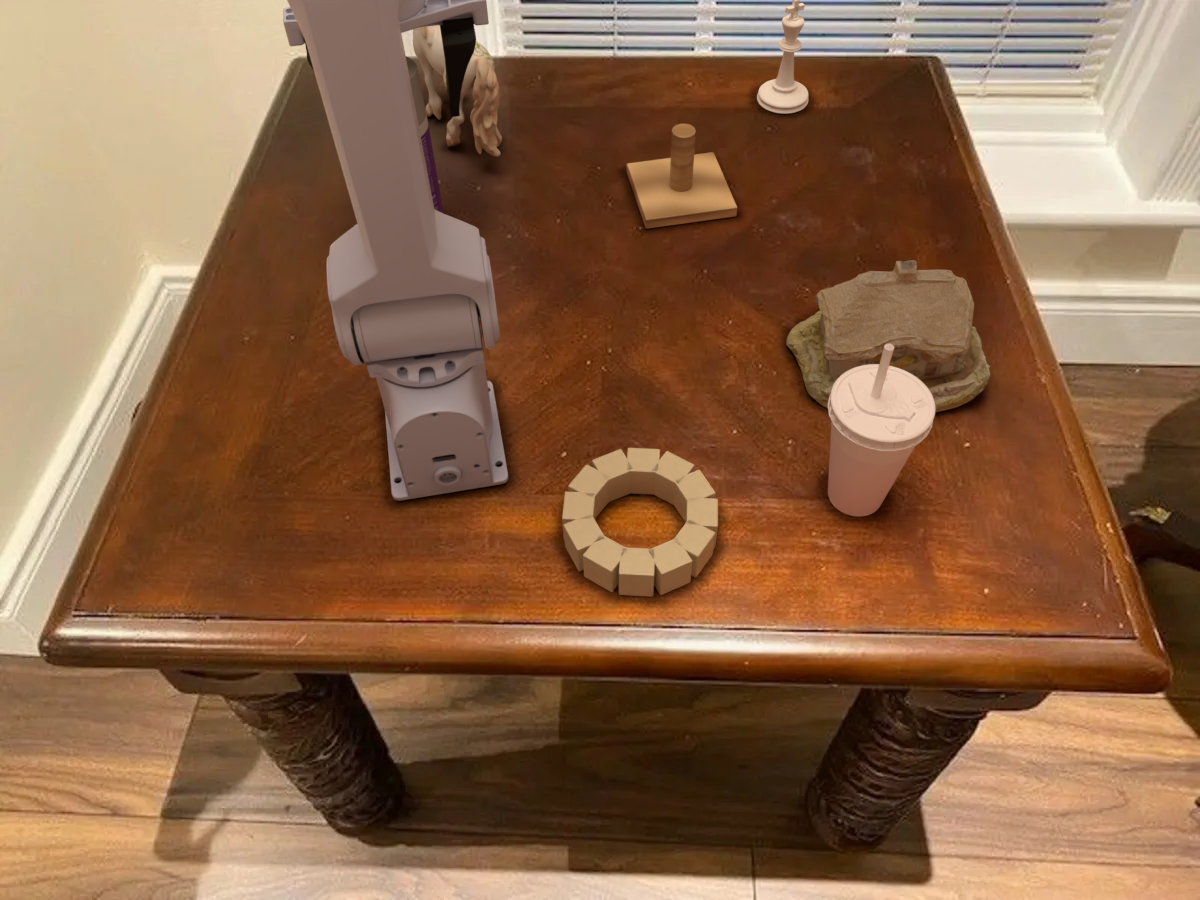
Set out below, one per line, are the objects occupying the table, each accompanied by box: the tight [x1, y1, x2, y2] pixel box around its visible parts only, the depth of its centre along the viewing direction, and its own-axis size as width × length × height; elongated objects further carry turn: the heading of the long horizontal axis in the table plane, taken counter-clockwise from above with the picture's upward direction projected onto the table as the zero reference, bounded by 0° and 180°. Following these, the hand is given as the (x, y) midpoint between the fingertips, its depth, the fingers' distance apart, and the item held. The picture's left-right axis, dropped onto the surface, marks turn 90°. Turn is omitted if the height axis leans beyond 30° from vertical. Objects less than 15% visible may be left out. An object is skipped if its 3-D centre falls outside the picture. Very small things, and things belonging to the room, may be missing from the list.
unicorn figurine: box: [412, 25, 503, 158], centre depth 93 cm, size 7×20×13 cm, turn 48°
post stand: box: [626, 123, 738, 230], centre depth 88 cm, size 8×8×6 cm
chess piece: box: [756, 0, 809, 115], centre depth 95 cm, size 5×5×10 cm
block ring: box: [561, 447, 719, 597], centre depth 68 cm, size 10×10×3 cm
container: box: [406, 56, 445, 214], centre depth 82 cm, size 5×5×15 cm
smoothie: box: [827, 344, 936, 517], centre depth 65 cm, size 6×6×14 cm
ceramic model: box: [785, 259, 991, 413], centre depth 74 cm, size 14×11×10 cm
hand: (405, 115), depth 82 cm, fingers open, 7 cm apart
